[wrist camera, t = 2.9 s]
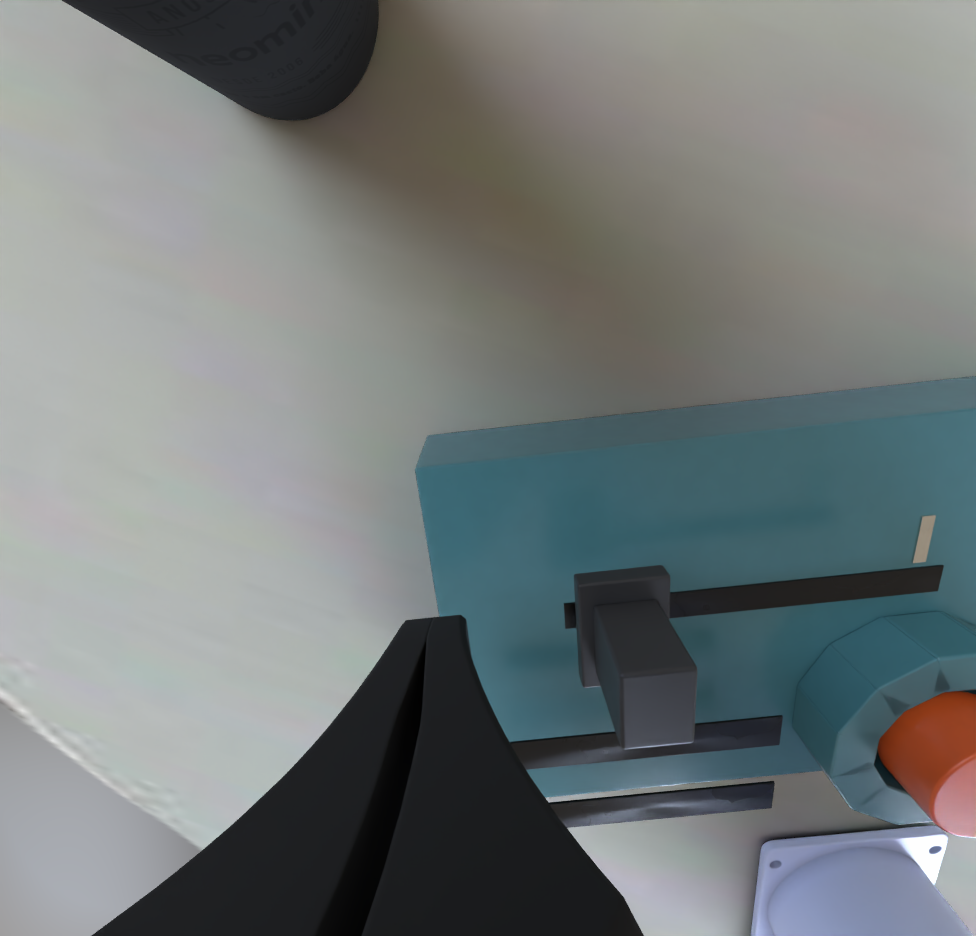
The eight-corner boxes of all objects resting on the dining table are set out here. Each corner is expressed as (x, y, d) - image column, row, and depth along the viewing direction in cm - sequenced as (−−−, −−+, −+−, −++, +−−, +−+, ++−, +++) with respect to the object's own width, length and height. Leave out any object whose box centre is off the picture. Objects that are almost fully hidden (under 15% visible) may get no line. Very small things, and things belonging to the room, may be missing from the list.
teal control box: (928, 681, 19) (1078, 808, 14) (471, 726, 19) (469, 866, 14) (1004, 372, 15) (1248, 405, 10) (426, 434, 15) (403, 495, 10)
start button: (978, 770, 14) (1044, 833, 12) (867, 780, 14) (919, 844, 12) (1005, 683, 13) (1081, 739, 11) (885, 695, 13) (945, 752, 11)
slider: (661, 665, 12) (710, 763, 9) (578, 673, 12) (605, 773, 9) (663, 563, 11) (718, 642, 8) (573, 572, 11) (602, 653, 8)
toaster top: (888, 794, 14) (889, 796, 14) (520, 830, 14) (520, 832, 14) (954, 511, 11) (956, 513, 11) (488, 560, 11) (488, 561, 11)
